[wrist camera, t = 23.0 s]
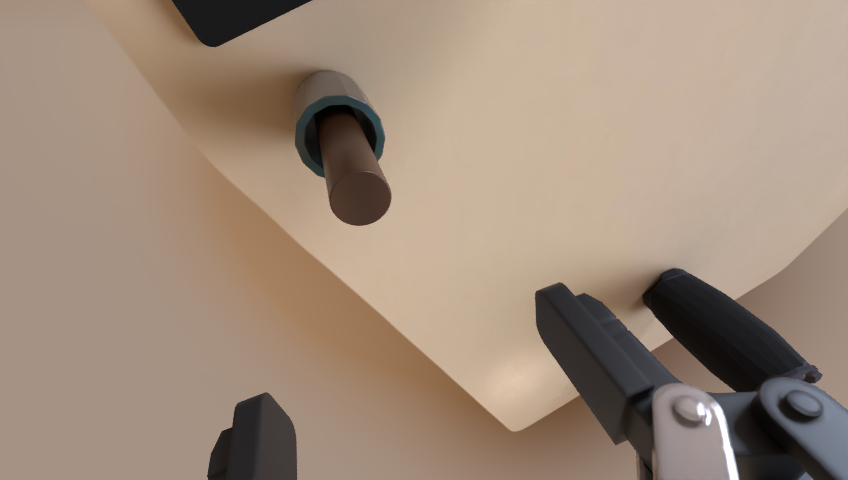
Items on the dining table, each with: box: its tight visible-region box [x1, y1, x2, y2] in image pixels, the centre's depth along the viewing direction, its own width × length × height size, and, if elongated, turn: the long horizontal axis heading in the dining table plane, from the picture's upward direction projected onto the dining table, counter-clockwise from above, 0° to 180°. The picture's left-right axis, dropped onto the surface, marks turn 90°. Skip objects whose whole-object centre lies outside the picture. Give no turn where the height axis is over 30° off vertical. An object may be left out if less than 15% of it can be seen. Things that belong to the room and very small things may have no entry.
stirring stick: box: [314, 105, 391, 226], centre depth 25 cm, size 3×3×16 cm
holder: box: [294, 70, 385, 178], centre depth 28 cm, size 6×6×8 cm
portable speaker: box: [643, 268, 822, 392], centre depth 53 cm, size 9×9×20 cm
